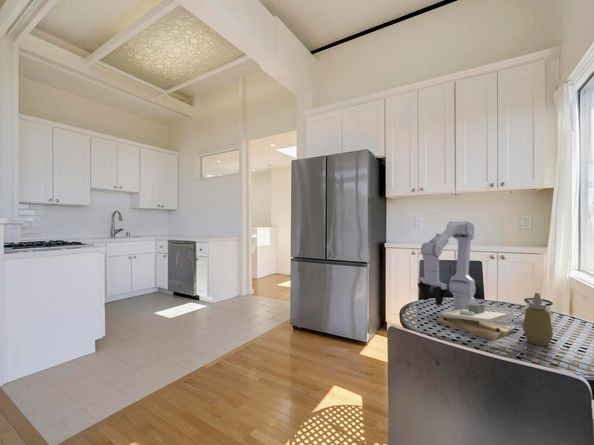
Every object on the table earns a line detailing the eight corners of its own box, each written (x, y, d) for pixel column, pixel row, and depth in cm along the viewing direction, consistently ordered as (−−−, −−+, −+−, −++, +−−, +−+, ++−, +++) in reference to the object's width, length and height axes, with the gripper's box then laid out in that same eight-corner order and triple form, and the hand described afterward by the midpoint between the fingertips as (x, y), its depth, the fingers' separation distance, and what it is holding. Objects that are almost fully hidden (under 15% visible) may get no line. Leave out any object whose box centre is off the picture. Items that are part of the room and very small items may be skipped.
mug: (534, 316, 126) (534, 297, 126) (559, 324, 117) (558, 302, 117) (514, 319, 123) (514, 299, 123) (537, 327, 114) (537, 305, 114)
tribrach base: (459, 316, 129) (459, 307, 129) (513, 332, 109) (513, 322, 109) (437, 321, 122) (437, 312, 122) (490, 340, 102) (490, 329, 102)
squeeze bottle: (517, 338, 103) (516, 290, 103) (537, 337, 104) (536, 289, 104) (538, 348, 95) (537, 296, 95) (559, 347, 96) (558, 295, 96)
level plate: (460, 311, 127) (459, 301, 128) (508, 316, 109) (506, 305, 110) (441, 316, 122) (440, 305, 122) (488, 322, 104) (486, 310, 104)
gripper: (412, 268, 124) (413, 298, 124) (436, 274, 110) (436, 308, 110) (425, 267, 126) (426, 297, 126) (450, 273, 112) (451, 306, 112)
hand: (432, 302), depth 118 cm, fingers open, 7 cm apart
